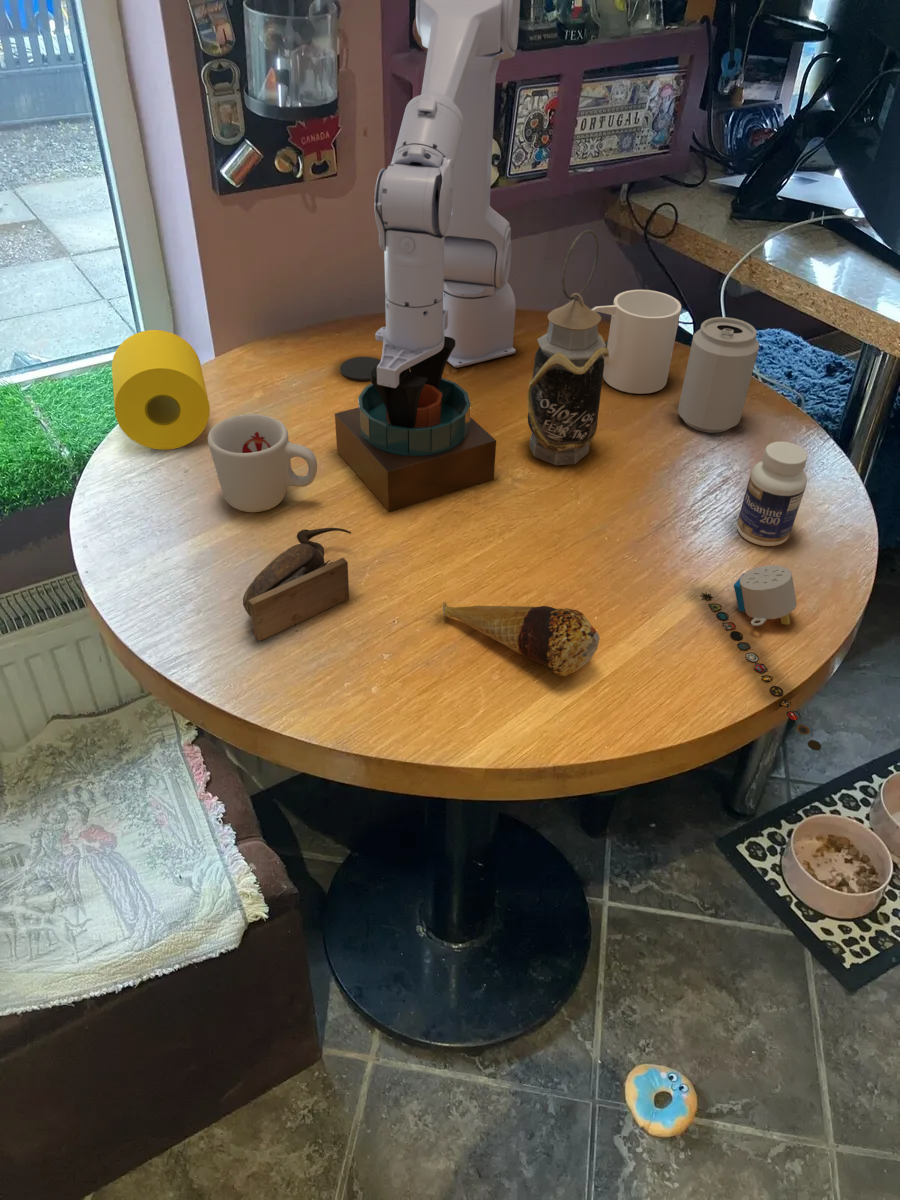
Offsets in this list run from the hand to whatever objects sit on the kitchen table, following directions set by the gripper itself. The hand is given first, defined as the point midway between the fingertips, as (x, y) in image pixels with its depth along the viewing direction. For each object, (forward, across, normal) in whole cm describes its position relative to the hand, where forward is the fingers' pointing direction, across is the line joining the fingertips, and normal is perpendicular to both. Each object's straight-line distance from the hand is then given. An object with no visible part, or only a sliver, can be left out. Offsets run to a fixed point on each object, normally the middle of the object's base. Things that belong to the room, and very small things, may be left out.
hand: (414, 416), depth 101 cm
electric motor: (+6, +10, +37) cm, 39 cm away
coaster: (+6, -18, -14) cm, 24 cm away
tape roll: (+1, +8, -27) cm, 28 cm away
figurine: (+4, +26, +2) cm, 26 cm away
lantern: (+6, -9, +14) cm, 18 cm away
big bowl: (+1, 0, 0) cm, 1 cm away
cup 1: (+6, +12, -12) cm, 18 cm away
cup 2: (+6, -28, +17) cm, 34 cm away
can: (+6, -23, +29) cm, 38 cm away
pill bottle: (+6, -2, +38) cm, 39 cm away
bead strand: (+6, +18, +40) cm, 44 cm away
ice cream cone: (+5, +22, +12) cm, 26 cm away
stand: (+6, 0, 0) cm, 6 cm away
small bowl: (+1, 0, 0) cm, 1 cm away
